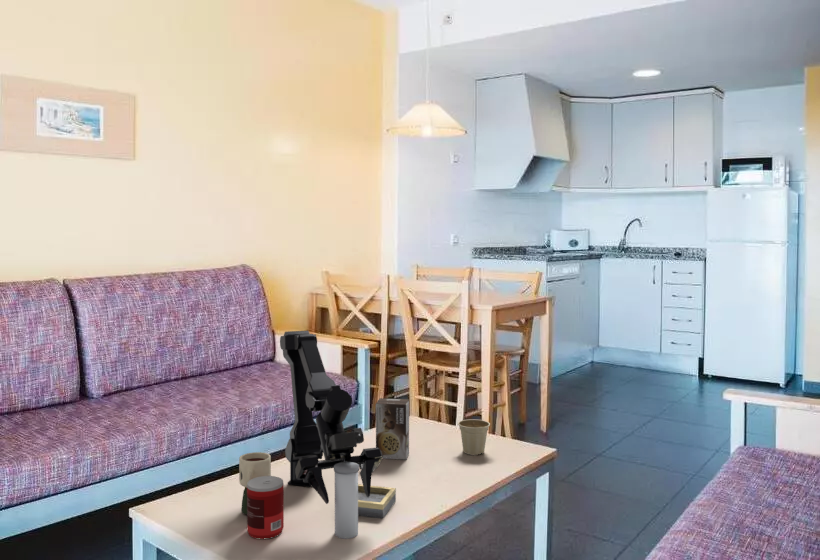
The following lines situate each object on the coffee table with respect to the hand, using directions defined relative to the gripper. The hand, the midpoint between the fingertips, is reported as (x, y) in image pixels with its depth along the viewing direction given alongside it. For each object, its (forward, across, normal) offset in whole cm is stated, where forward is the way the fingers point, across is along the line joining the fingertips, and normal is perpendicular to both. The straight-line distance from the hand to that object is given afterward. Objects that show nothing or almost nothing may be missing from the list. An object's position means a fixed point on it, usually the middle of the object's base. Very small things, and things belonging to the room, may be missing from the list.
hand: (348, 499), depth 149 cm
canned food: (0, -16, +12) cm, 20 cm away
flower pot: (-22, +53, +34) cm, 66 cm away
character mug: (-9, -16, +20) cm, 27 cm away
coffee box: (-27, +30, +38) cm, 55 cm away
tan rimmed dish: (-4, +9, +15) cm, 18 cm away
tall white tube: (+5, 0, +6) cm, 8 cm away
